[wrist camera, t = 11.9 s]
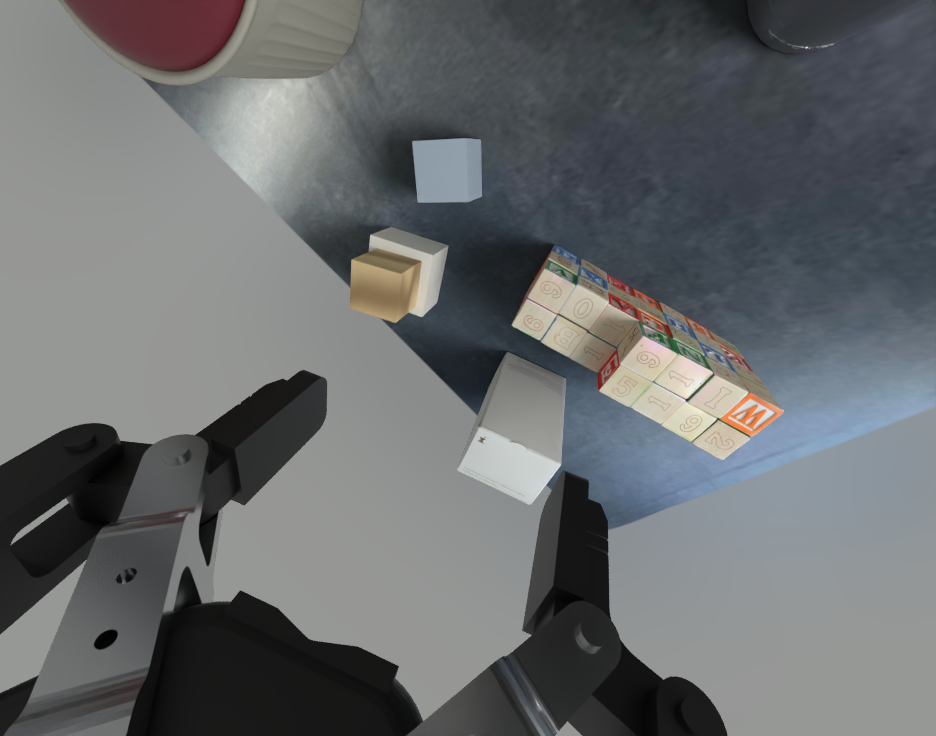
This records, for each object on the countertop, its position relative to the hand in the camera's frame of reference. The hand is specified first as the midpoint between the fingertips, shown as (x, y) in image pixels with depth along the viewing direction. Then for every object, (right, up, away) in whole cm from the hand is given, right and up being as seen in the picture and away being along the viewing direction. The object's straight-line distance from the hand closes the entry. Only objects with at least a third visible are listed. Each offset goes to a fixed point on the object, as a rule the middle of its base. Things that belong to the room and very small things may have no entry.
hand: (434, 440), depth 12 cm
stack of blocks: (+18, +8, +29) cm, 35 cm away
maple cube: (-6, +12, +28) cm, 31 cm away
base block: (-5, +14, +33) cm, 36 cm away
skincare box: (+9, +1, +36) cm, 37 cm away
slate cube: (0, +22, +26) cm, 34 cm away
